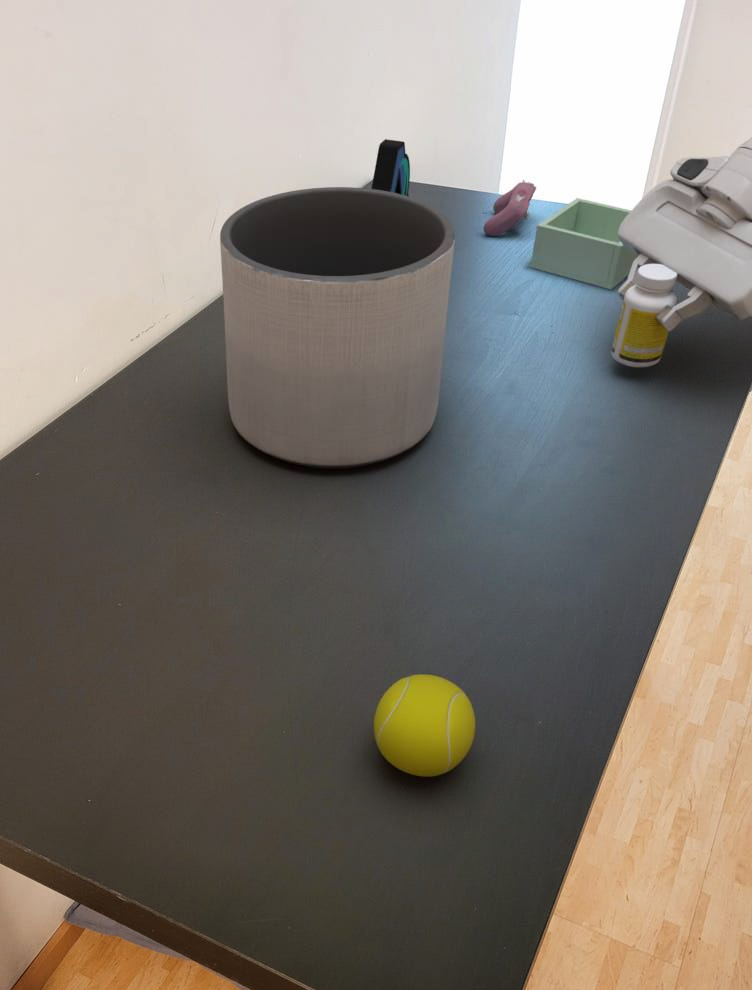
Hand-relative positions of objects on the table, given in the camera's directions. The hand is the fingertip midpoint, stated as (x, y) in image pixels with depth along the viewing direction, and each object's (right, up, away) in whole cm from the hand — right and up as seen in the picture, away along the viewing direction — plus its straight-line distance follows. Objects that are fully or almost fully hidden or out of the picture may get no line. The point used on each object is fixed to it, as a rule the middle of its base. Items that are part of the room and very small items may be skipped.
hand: (641, 312), depth 101 cm
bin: (+3, +16, +25) cm, 30 cm away
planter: (-34, -12, 0) cm, 35 cm away
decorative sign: (-24, +17, +28) cm, 41 cm away
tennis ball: (-29, -44, -33) cm, 62 cm away
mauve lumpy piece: (-6, +25, +35) cm, 43 cm away
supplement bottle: (+1, -4, +4) cm, 6 cm away
